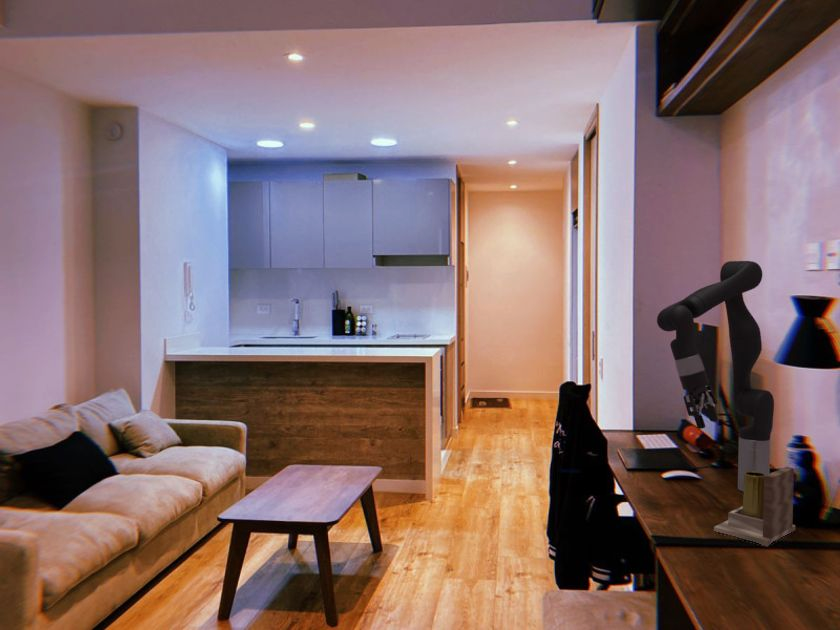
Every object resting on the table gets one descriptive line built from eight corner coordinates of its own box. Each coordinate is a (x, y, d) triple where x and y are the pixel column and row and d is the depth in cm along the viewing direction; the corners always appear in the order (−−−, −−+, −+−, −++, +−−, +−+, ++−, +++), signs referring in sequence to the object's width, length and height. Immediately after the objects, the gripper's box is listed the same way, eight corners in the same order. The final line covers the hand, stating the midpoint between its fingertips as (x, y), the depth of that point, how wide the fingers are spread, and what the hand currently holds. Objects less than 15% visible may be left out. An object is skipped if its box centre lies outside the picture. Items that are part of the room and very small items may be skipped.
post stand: (743, 517, 202) (744, 457, 202) (795, 530, 192) (796, 467, 191) (713, 532, 190) (715, 468, 190) (767, 546, 180) (768, 478, 179)
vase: (764, 523, 193) (765, 471, 192) (767, 530, 187) (769, 477, 187) (740, 521, 195) (741, 470, 194) (742, 528, 189) (743, 475, 189)
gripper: (692, 374, 201) (709, 429, 200) (713, 364, 211) (730, 416, 210) (668, 379, 207) (685, 432, 206) (690, 369, 217) (706, 420, 215)
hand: (708, 424), depth 208 cm, fingers open, 8 cm apart
